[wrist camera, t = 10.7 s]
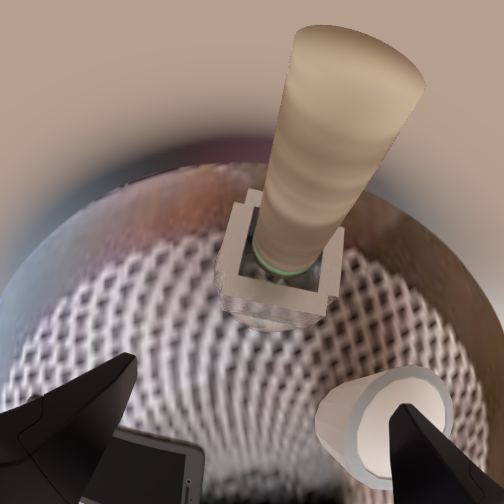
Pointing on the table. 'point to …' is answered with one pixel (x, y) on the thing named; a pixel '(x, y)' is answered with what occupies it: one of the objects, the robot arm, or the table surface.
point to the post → (328, 140)
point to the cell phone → (145, 472)
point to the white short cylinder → (378, 418)
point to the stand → (272, 278)
